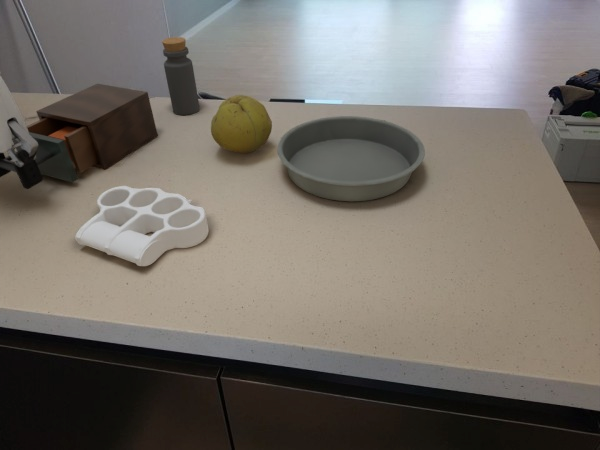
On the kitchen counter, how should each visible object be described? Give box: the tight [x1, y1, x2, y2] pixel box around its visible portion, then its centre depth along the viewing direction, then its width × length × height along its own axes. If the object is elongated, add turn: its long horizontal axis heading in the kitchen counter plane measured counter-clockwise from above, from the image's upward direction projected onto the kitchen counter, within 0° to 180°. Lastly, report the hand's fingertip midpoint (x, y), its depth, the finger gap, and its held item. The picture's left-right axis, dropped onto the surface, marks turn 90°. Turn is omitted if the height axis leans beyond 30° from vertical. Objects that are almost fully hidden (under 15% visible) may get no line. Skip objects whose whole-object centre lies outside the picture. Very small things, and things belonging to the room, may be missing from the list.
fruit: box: [210, 94, 273, 154], centre depth 83 cm, size 11×12×10 cm
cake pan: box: [276, 115, 426, 202], centre depth 78 cm, size 25×25×4 cm
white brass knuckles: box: [74, 185, 210, 267], centre depth 65 cm, size 3×18×15 cm
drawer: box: [0, 117, 99, 183], centre depth 78 cm, size 19×11×7 cm, turn 155°
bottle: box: [161, 36, 200, 116], centre depth 97 cm, size 6×6×15 cm
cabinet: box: [36, 83, 159, 171], centre depth 85 cm, size 15×13×9 cm
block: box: [48, 126, 78, 161], centre depth 80 cm, size 4×4×4 cm
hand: (17, 178), depth 73 cm, fingers closed on drawer, 6 cm apart
